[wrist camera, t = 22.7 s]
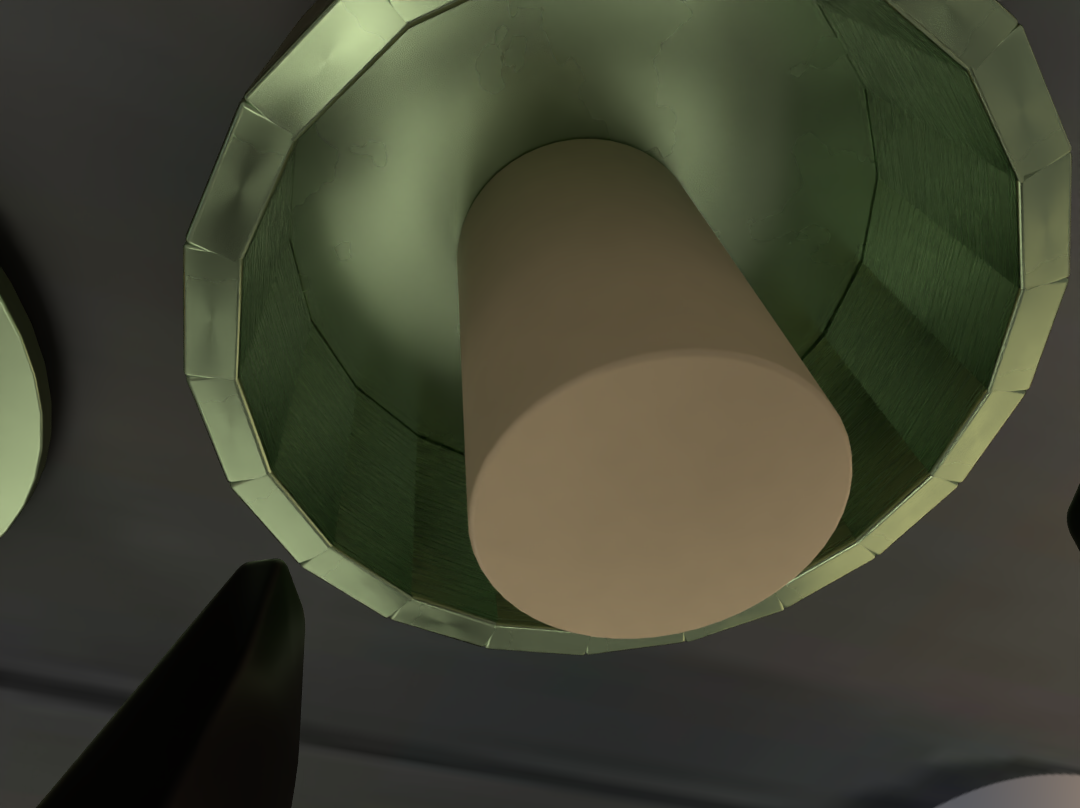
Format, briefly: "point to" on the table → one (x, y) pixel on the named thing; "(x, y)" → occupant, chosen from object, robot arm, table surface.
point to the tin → (714, 187)
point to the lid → (20, 407)
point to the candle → (631, 405)
